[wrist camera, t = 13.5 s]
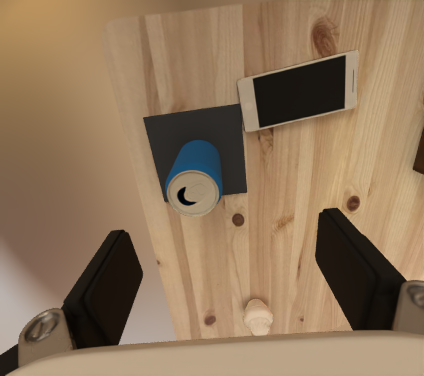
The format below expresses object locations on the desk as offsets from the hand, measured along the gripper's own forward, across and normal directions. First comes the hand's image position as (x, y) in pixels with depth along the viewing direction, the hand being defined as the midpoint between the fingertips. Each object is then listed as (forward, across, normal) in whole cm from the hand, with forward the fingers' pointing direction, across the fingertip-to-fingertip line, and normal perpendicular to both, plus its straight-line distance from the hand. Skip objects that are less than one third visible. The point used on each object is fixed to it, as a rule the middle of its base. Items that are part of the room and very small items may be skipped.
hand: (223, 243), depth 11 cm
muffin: (+25, -4, +39) cm, 46 cm away
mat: (+25, +4, +4) cm, 26 cm away
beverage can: (+25, +3, +4) cm, 25 cm away
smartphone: (+25, -11, -4) cm, 28 cm away
